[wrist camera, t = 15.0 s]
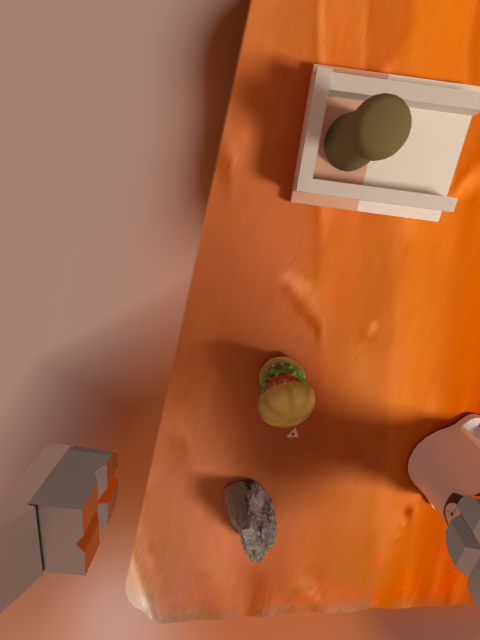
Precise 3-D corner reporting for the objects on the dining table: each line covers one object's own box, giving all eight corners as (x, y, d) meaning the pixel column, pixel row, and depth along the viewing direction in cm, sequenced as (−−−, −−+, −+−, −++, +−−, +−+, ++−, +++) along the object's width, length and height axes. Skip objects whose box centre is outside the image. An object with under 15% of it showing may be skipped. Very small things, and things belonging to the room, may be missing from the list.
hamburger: (293, 342, 49) (305, 386, 38) (315, 380, 51) (333, 433, 40) (247, 366, 51) (245, 415, 40) (270, 402, 53) (275, 458, 42)
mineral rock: (271, 537, 63) (274, 597, 54) (214, 526, 63) (207, 585, 53) (289, 484, 59) (296, 540, 49) (227, 473, 58) (223, 527, 49)
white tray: (473, 90, 38) (503, 76, 33) (432, 220, 43) (454, 224, 38) (312, 68, 38) (320, 51, 33) (289, 201, 43) (294, 203, 38)
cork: (318, 123, 38) (342, 98, 28) (372, 103, 37) (418, 69, 27) (330, 178, 40) (357, 174, 30) (382, 161, 39) (428, 150, 29)
